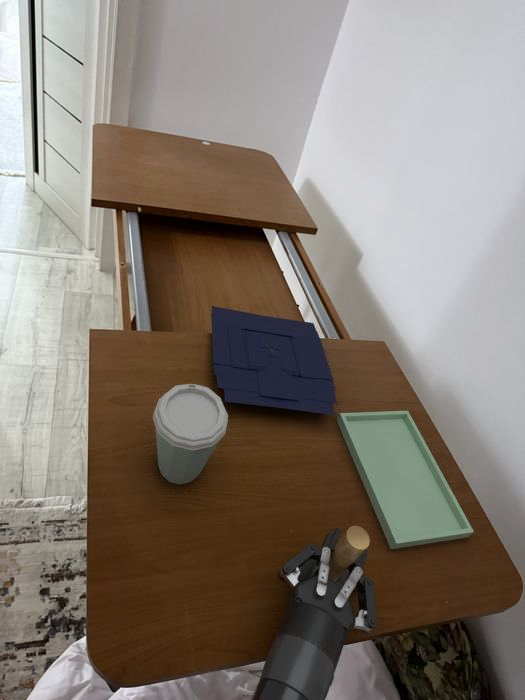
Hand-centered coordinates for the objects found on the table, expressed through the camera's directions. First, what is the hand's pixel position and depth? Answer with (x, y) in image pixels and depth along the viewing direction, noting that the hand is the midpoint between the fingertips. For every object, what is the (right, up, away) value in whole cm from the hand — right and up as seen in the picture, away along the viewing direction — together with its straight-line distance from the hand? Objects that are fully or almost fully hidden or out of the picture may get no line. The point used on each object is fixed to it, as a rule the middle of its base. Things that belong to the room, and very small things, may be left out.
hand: (349, 539), depth 71 cm
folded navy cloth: (-11, +24, +32) cm, 41 cm away
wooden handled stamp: (-3, -7, +3) cm, 8 cm away
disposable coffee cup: (-26, +8, +10) cm, 29 cm away
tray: (+12, +4, +21) cm, 24 cm away
